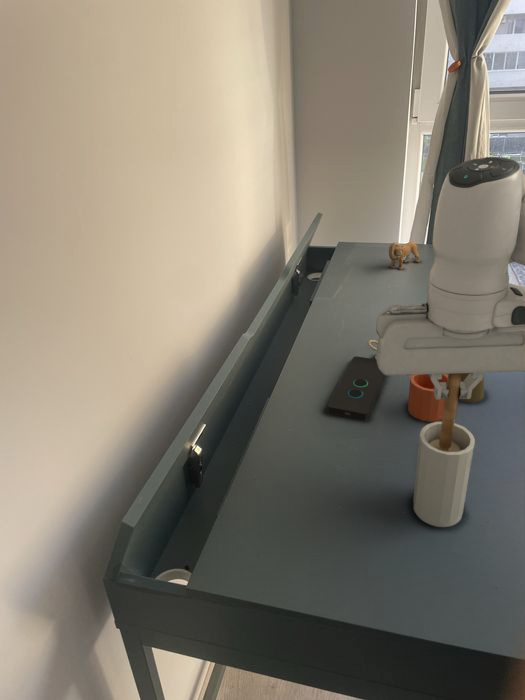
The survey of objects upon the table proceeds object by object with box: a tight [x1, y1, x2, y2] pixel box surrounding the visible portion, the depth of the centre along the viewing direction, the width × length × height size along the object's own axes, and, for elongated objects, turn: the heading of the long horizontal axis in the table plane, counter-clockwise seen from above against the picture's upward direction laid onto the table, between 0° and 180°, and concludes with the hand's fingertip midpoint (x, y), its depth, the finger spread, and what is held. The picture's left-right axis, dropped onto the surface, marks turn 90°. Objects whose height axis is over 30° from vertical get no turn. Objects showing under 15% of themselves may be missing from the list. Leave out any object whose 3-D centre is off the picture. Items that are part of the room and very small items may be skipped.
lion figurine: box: [388, 241, 420, 270], centre depth 164 cm, size 15×5×9 cm, turn 135°
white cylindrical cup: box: [412, 421, 476, 528], centre depth 77 cm, size 7×7×14 cm
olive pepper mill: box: [458, 373, 485, 403], centre depth 103 cm, size 6×6×11 cm
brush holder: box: [407, 374, 448, 423], centre depth 100 cm, size 7×7×7 cm
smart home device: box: [327, 355, 387, 421], centre depth 109 cm, size 8×2×20 cm
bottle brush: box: [430, 373, 462, 452], centre depth 73 cm, size 4×4×22 cm
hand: (451, 396), depth 70 cm, fingers closed on bottle brush
